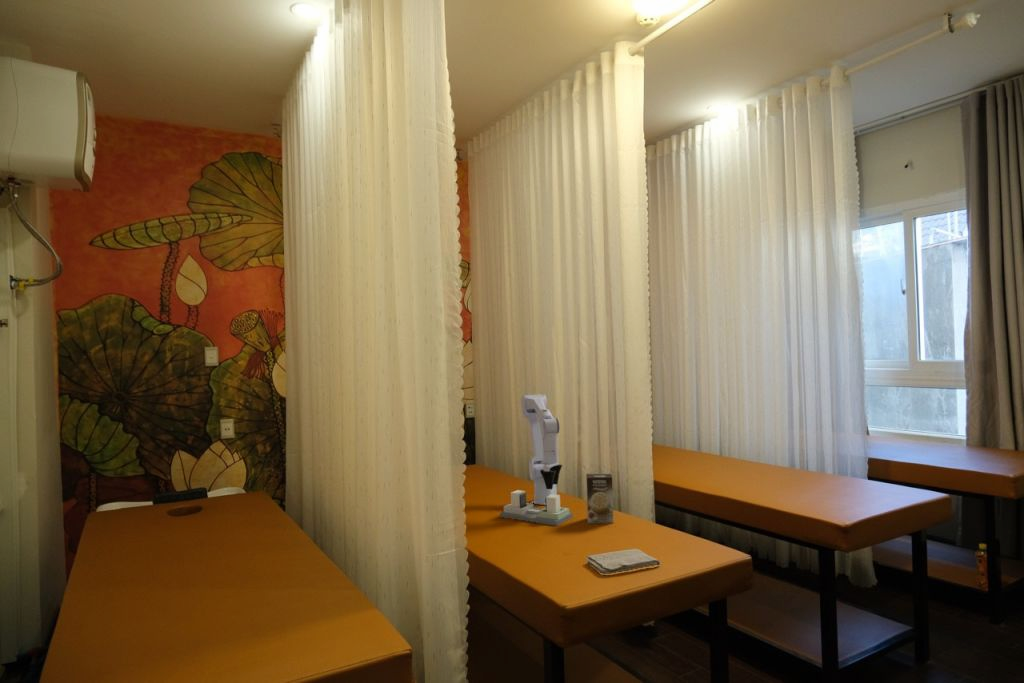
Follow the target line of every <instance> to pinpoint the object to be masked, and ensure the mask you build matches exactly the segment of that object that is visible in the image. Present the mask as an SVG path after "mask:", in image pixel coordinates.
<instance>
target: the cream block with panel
mask: <svg viewBox="0 0 1024 683" xmlns="http://www.w3.org/2000/svg"><path fill="white" fill-rule="evenodd" d="M545 504H546V505H545V508H546V512H551V513H559V512H561V510H560V507H561V495H560V494H557V495H555V494H550V495H549V496H547V497H546V498H545Z"/></svg>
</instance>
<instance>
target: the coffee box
mask: <svg viewBox="0 0 1024 683" xmlns="http://www.w3.org/2000/svg"><path fill="white" fill-rule="evenodd" d="M585 475H586V476H585V477H586V481H585V482H586V514H587V515H586V516H587V517H586V518H587V523H588V524H614V522H615V521H614V494H613V493H614V492H613V491H614V490H613V475H612V474H611V473H586V474H585Z"/></svg>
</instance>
